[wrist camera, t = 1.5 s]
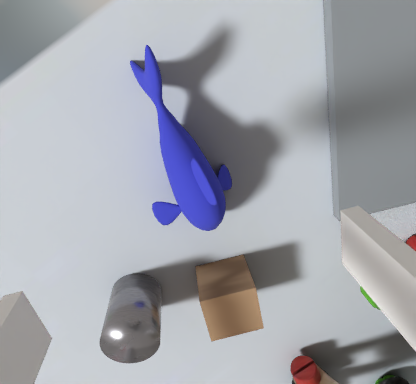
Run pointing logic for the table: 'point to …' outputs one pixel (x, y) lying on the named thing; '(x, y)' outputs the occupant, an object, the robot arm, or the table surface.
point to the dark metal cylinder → (132, 319)
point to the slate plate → (371, 102)
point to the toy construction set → (316, 377)
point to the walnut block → (228, 298)
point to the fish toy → (183, 162)
